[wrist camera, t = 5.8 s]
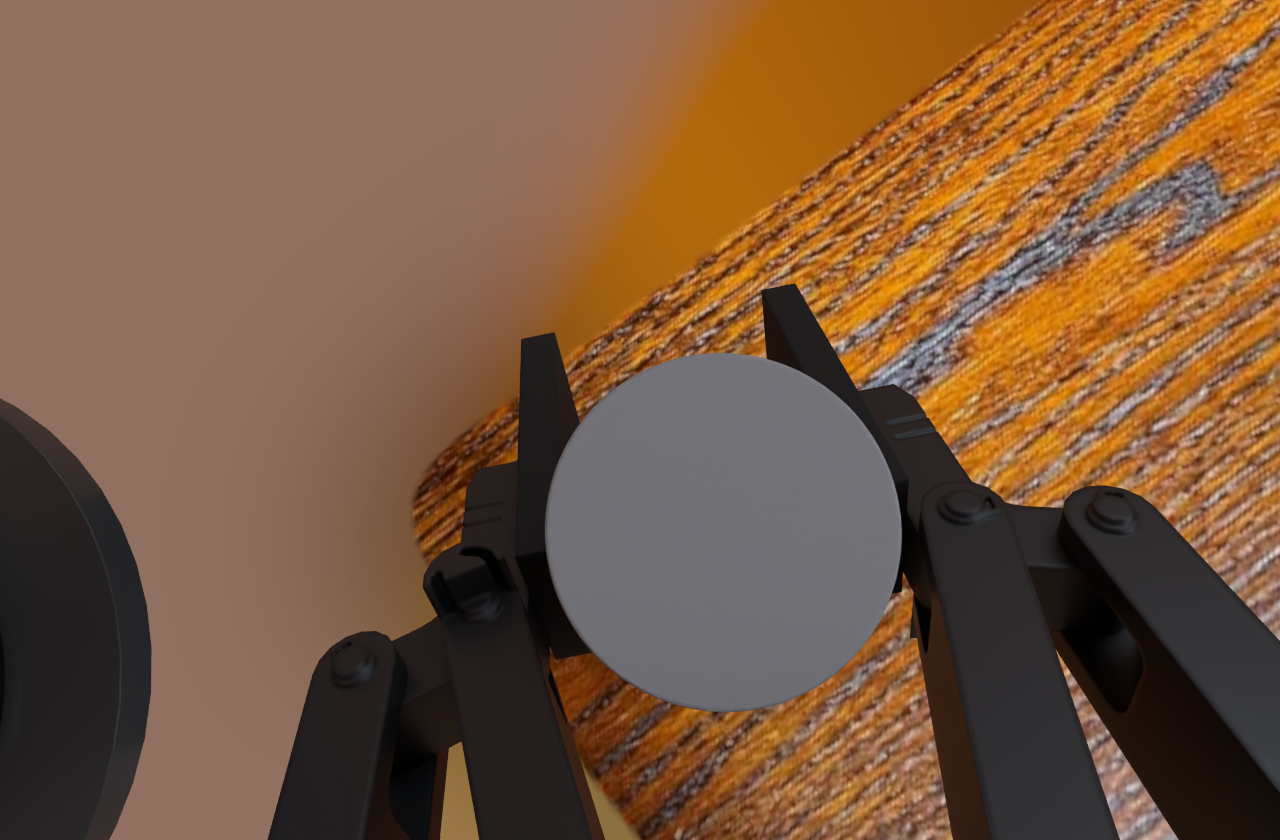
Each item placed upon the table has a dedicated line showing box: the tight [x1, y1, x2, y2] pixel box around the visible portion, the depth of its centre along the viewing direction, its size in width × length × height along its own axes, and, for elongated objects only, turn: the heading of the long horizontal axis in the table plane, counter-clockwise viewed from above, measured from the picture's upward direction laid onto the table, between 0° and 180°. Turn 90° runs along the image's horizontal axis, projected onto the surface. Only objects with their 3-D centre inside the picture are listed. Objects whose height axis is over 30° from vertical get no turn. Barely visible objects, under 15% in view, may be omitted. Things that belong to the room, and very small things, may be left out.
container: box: [545, 353, 902, 712], centre depth 17 cm, size 5×5×15 cm
